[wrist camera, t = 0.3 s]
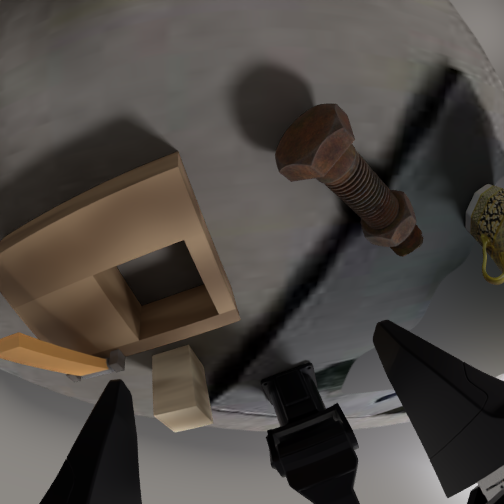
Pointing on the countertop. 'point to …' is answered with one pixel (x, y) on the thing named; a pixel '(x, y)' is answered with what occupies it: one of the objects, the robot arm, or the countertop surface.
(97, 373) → the gate
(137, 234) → the block
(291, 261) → the countertop surface
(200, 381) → the peg
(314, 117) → the bolt
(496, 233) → the ceramic cup
